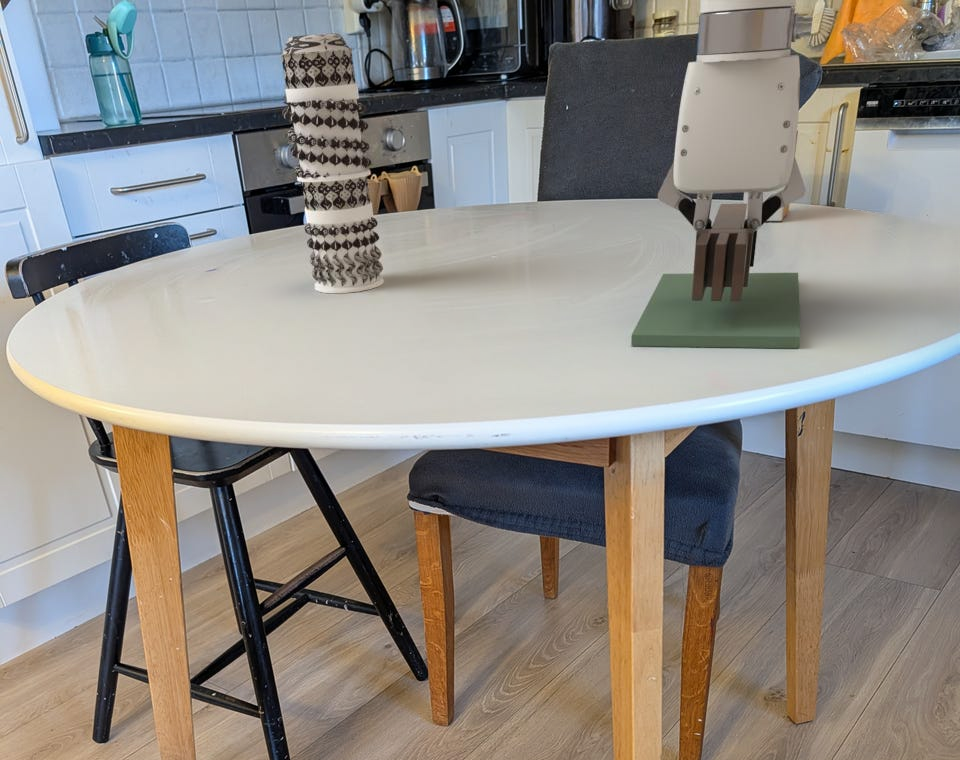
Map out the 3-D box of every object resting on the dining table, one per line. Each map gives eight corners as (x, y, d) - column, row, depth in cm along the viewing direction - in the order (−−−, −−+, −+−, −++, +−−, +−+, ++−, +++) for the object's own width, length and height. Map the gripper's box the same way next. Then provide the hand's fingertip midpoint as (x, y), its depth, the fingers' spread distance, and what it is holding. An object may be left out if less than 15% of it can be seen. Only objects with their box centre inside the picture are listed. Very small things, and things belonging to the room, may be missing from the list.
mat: (798, 348, 73) (800, 336, 72) (631, 346, 77) (631, 334, 76) (797, 282, 92) (798, 272, 91) (662, 283, 96) (663, 273, 95)
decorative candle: (304, 296, 102) (260, 38, 88) (318, 279, 110) (280, 39, 96) (381, 291, 101) (349, 31, 88) (390, 274, 109) (362, 32, 95)
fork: (705, 251, 91) (709, 204, 89) (753, 251, 90) (758, 203, 88) (687, 300, 75) (691, 244, 72) (745, 301, 74) (751, 243, 71)
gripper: (847, 31, 73) (813, 266, 83) (650, 45, 77) (641, 266, 87) (852, 31, 67) (814, 284, 77) (639, 46, 71) (630, 284, 81)
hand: (723, 273), depth 82 cm, fingers closed on fork, 2 cm apart
